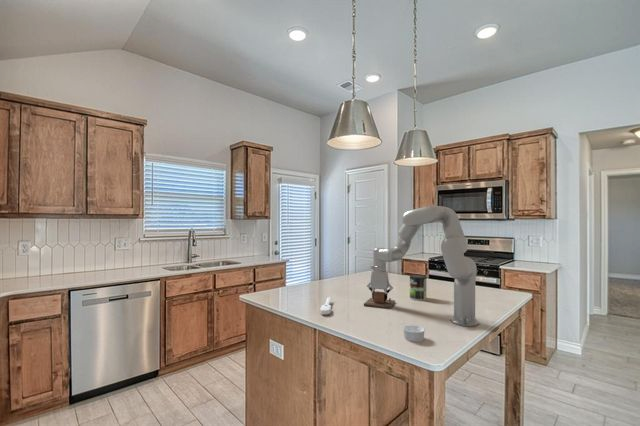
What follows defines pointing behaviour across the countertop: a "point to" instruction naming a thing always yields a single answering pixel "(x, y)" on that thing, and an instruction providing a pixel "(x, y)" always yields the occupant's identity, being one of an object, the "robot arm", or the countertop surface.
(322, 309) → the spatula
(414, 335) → the ramekin
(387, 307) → the post board
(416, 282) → the coffee can
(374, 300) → the square wooden collar
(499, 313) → the countertop surface
